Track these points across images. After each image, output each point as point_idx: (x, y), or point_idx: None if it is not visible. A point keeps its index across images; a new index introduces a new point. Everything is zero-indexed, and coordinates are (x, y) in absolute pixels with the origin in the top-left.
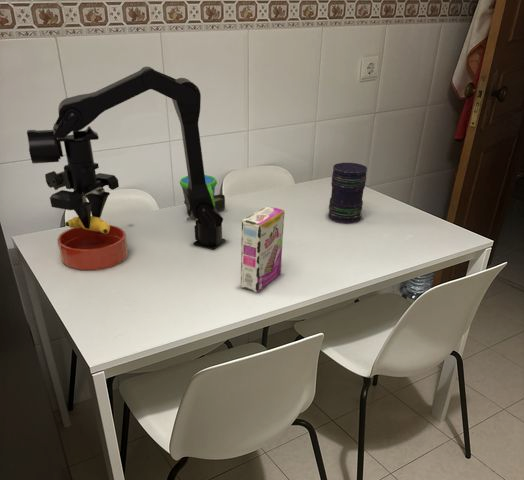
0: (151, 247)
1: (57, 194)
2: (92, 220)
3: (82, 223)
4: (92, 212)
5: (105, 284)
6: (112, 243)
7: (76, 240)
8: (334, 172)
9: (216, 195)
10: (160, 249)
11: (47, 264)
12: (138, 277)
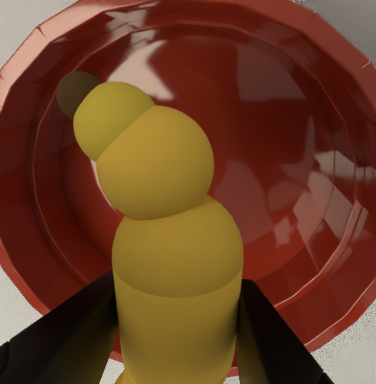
0: (356, 330)
1: None
2: (130, 370)
3: (82, 290)
4: (253, 350)
5: (32, 312)
6: (331, 199)
7: (244, 36)
8: None
9: None
10: (344, 361)
11: (20, 6)
12: (119, 370)
